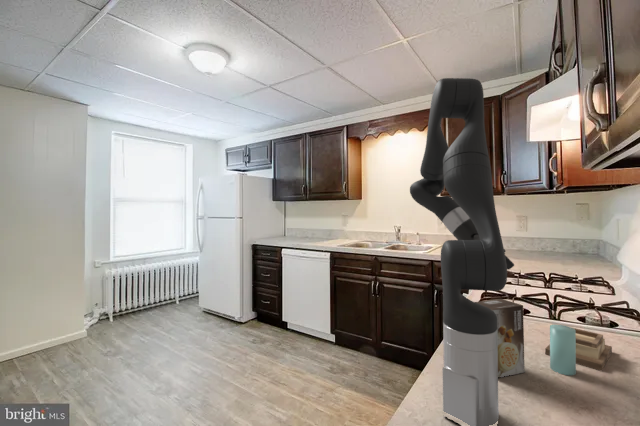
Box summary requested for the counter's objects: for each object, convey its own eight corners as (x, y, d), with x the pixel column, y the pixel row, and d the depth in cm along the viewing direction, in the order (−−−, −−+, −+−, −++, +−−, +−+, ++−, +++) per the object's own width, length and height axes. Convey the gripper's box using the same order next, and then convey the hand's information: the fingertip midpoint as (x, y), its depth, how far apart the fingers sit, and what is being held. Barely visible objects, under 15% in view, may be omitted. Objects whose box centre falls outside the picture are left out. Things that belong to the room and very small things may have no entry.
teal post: (573, 377, 69) (572, 334, 69) (547, 369, 73) (547, 328, 73) (578, 370, 72) (577, 328, 72) (553, 362, 76) (553, 322, 76)
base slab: (601, 371, 72) (601, 349, 72) (545, 354, 80) (545, 335, 80) (611, 352, 81) (611, 333, 80) (560, 338, 89) (560, 321, 89)
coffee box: (502, 360, 78) (501, 297, 77) (525, 373, 72) (524, 305, 71) (472, 366, 75) (471, 301, 75) (493, 379, 69) (492, 309, 69)
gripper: (459, 218, 84) (505, 265, 75) (482, 215, 93) (526, 257, 84) (441, 236, 88) (483, 283, 79) (465, 232, 97) (505, 273, 88)
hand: (505, 270), depth 82 cm, fingers open, 8 cm apart
